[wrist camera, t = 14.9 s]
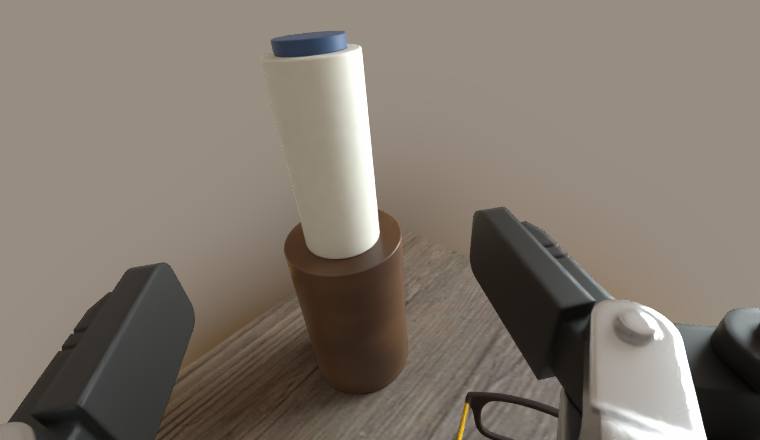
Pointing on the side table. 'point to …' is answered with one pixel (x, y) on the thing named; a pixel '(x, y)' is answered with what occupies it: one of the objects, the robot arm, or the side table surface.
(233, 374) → the side table surface
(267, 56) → the tube
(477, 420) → the eyeglasses
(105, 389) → the robot arm
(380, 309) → the stand
